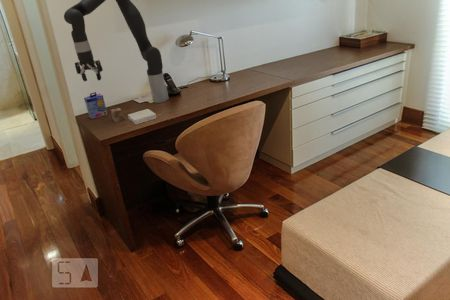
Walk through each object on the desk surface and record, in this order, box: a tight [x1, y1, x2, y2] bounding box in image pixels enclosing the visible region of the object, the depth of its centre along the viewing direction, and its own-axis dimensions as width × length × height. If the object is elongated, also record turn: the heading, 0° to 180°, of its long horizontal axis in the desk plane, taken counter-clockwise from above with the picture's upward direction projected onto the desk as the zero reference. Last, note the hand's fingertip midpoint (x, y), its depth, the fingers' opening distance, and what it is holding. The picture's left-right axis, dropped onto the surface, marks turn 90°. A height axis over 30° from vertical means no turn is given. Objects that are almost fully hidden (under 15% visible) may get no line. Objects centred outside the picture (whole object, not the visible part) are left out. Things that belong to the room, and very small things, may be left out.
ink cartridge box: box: [83, 91, 108, 120], centre depth 209 cm, size 10×6×14 cm, turn 127°
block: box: [110, 107, 125, 123], centre depth 201 cm, size 5×5×6 cm
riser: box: [127, 108, 157, 125], centre depth 199 cm, size 12×12×3 cm
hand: (92, 80), depth 194 cm, fingers open, 8 cm apart
